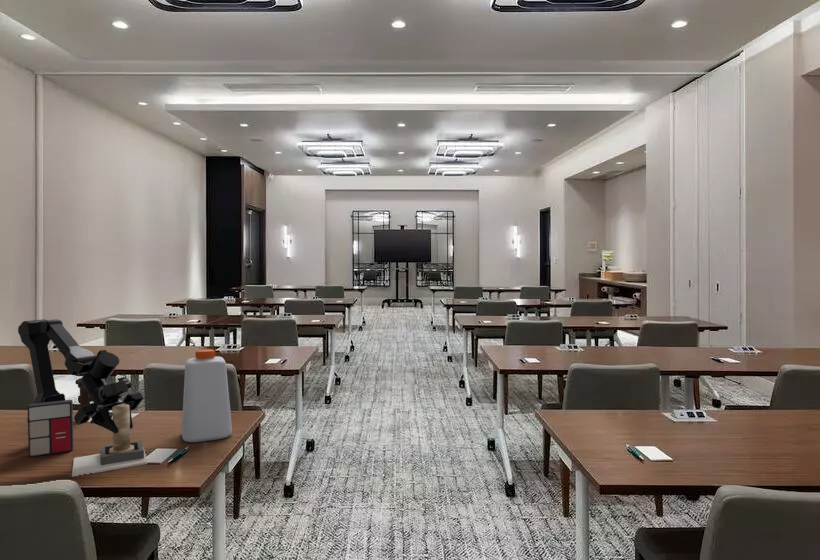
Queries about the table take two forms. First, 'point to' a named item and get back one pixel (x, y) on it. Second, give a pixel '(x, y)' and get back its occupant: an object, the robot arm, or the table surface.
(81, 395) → the bolt
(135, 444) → the collar board
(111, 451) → the peg
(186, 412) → the plastic bottle
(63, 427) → the calculator
